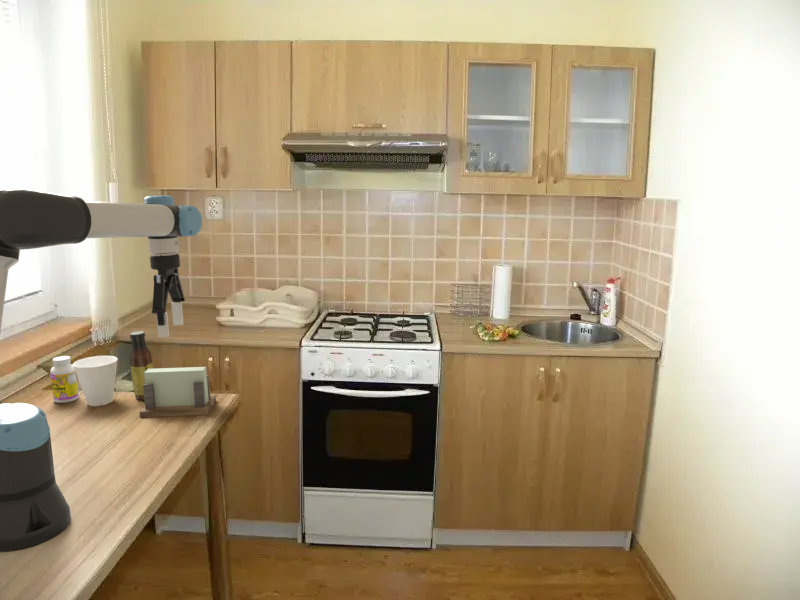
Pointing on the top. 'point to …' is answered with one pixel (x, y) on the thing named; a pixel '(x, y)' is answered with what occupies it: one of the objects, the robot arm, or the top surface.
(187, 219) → the robot arm
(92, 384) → the cup
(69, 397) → the supplement bottle
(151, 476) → the top surface
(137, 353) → the sauce bottle
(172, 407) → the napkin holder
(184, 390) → the door panel
